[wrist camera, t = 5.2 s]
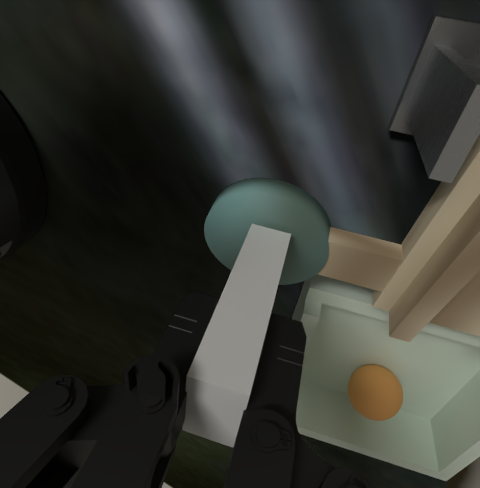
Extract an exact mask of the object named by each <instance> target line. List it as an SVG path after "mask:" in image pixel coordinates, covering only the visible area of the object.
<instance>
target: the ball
mask: <svg viewBox="0 0 480 488" xmlns="http://www.w3.org/2000/svg"><path fill="white" fill-rule="evenodd" d="M348 395H349V399H350V401H351V403H352V405H353V407H354V408H355V409H356V410H357V411H358V412H359V413H360V414H361V415H363V416H364V417H366V418H368V419H371V420H376V421H383V420H387V419H390V418H392V417H393V416H394V415H396V414H397V412H398V411H399V410H400V408H401V406H402V402H403V391H402V387H401V384H400V382H399V380H398V379H397V377H396V376H395V375H394V374H393V373H392V372H391V371H389V370H388V369H386V368H384V367H382V366H378V365H365V366H362V367H360V368H358V369H357V370H356V371H355V372H354V373H353V374H352V376H351V377H350V379H349V383H348Z"/></svg>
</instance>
